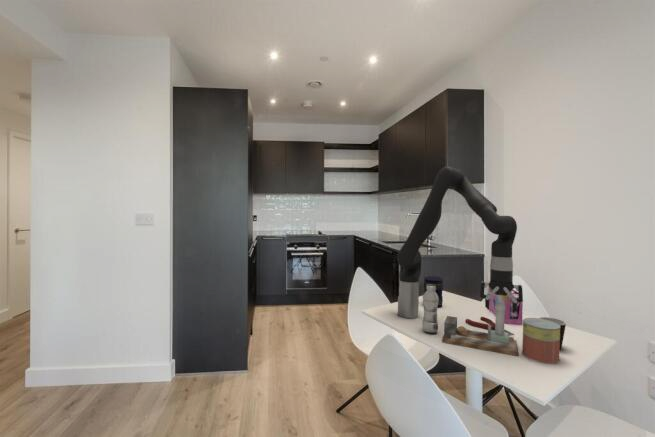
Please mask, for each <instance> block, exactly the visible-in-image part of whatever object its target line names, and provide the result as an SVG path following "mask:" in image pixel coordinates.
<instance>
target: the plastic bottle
mask: <svg viewBox="0 0 655 437" xmlns="http://www.w3.org/2000/svg"><path fill="white" fill-rule="evenodd" d="M435 288H436V286H435V285H432V284H427V287H426V289H427V291H426V292H425V293H423V295H422V303H423V317H422V319H423V320H422V325H421V326H422V327H421V328H422V330H423V331H424V332H426V333H429V334H435V333H438V331H439V322H438V308H437V307H438V301H439V298H438V295H437V293H436V292H435V290H436V289H435Z"/></svg>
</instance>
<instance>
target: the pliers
mask: <svg viewBox="0 0 655 437" xmlns="http://www.w3.org/2000/svg"><path fill="white" fill-rule="evenodd" d="M479 319H480V321H481V322H479V321H474V320H472V319H470V318H466V319H465V321H464V322H465V324H467V325H469V326H472V327H475V328H478V329H479V328H480V329H484V330H487V331H488V325H491V330H494V331H495V322H494V321H493V320H491V319H490V318H487V317H485V316H481V317H480V318H479ZM504 332H507V333H508V336H515V334H514V333H512V332H511V331H508V330H507V329H505V328H504Z"/></svg>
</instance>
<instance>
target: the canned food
mask: <svg viewBox="0 0 655 437" xmlns="http://www.w3.org/2000/svg"><path fill="white" fill-rule="evenodd" d="M539 318H540V317H539ZM539 318H538V317H526V318H522V345H521V346H522V348H521V354H522V356H524V357H525V358H527V359H529V360H532V361H535V362H538V363H542V364H551V365H552V364H557V363H559V362H560V350H559V349H560V328H561V326H560V325H559V324H557V323H555V322H553V321H549V320H545V319H539Z"/></svg>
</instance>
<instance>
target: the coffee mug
mask: <svg viewBox="0 0 655 437" xmlns="http://www.w3.org/2000/svg"><path fill="white" fill-rule="evenodd" d="M539 319H545V320H549V321H553V322H555V323H557V324H559V325H560V326H561V328H560V349H559V351H561V350H562V346H563V342H564V336H565V331H566V324H567V323H566V321H564V320H563V319H559V318H555V317H548V316H547V317H546V316H542V317H541V316H540V317H539Z"/></svg>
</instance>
